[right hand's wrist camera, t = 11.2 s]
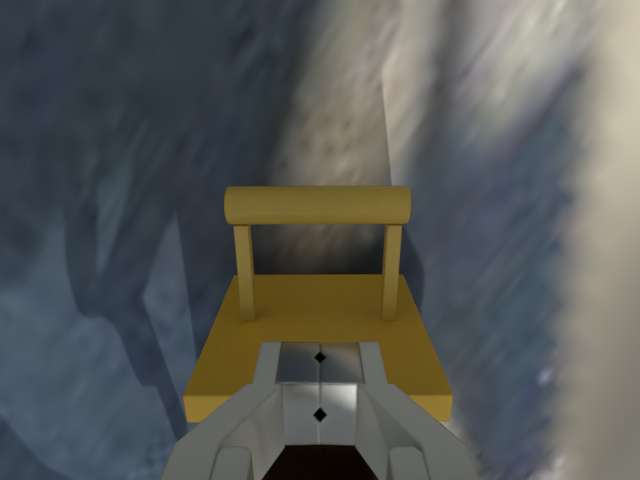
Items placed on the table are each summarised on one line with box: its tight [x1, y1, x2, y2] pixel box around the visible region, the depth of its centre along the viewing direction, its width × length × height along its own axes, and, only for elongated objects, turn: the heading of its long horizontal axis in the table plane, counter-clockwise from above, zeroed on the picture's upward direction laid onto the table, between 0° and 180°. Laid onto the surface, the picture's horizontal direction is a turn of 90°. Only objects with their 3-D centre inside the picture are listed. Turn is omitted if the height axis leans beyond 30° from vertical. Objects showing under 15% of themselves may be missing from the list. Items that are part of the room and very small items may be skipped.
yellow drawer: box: [183, 186, 453, 480], centre depth 21 cm, size 26×9×9 cm, turn 0°
